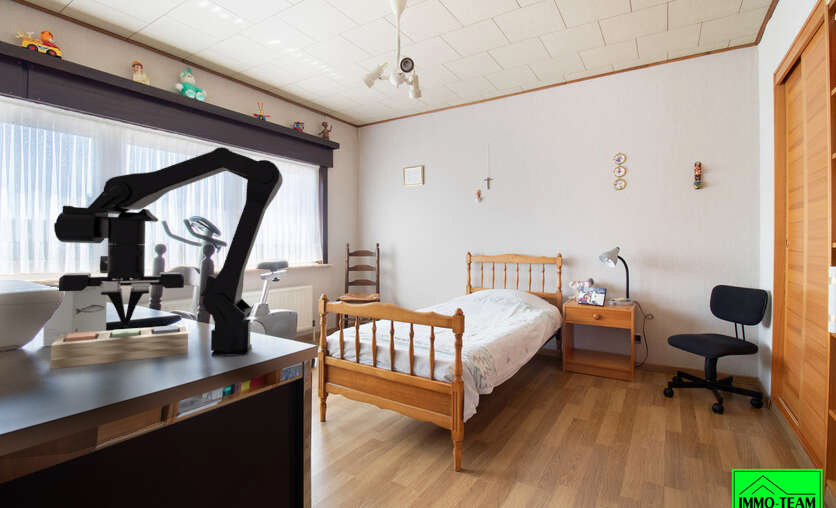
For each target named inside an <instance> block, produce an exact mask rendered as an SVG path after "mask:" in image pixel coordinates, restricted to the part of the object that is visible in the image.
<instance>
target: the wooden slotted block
mask: <svg viewBox="0 0 836 508" xmlns="http://www.w3.org/2000/svg"><path fill="white" fill-rule="evenodd" d="M153 327H154V326H152V327H138V328H139V335H137V336H126V337H114V338H112V333H113V330H114V329H113V330H112V329H111V330H106V331H98V332H97V339H90V340H78V341H66V337H67V335H68V334H60V335H59V336H58V337H57V339H56V340H55V341H54V343H53V344H52V345H51V346H50V349H51V350H50V351H51V352H50V355H51V356H50V361H51V362H50V369H51V370H54V369H63V368H72V367H80V366H81V367H82V366H90V365H98V364H106V363H108V364H109V363H115V362H116V363H118V362H125V361H133V360H143V359H144V360H145V359H152V358H161V357H169V356H179V355H188V352H189V332H188V330H187V329H186V326H185V325H184V324H182V325H181V324H179V325H177V327H178V332H173V333H161V334H153Z"/></svg>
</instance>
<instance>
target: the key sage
mask: <svg viewBox="0 0 836 508" xmlns="http://www.w3.org/2000/svg"><path fill="white" fill-rule="evenodd" d="M139 328H140V327H137V328H124V329H121V328H120V329H113V333H112V338H114V337H126V336H137V335H139Z"/></svg>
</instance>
